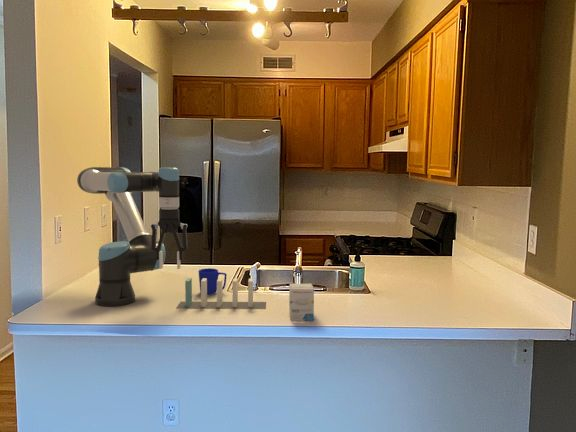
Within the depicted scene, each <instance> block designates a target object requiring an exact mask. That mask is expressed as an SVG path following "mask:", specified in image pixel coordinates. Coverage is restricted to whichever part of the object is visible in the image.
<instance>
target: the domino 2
mask: <svg viewBox="0 0 576 432" xmlns="http://www.w3.org/2000/svg"><path fill="white" fill-rule="evenodd" d="M222 288H223V278H220V277H218V280H217V291H216V302H217V307H221V306H222V302H223V290H222Z"/></svg>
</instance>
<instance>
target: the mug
mask: <svg viewBox="0 0 576 432" xmlns="http://www.w3.org/2000/svg"><path fill="white" fill-rule="evenodd" d="M220 275H222V276H224V278H223V284H222V291H223V290H224V289H225V288H226V284H227V277H228V276H227V273H226V272H219V269H216V268H210V267H209V268H201V269H199V270H198V280H199V283H198V284H199V290H200V293H201V280H202V279H203V278H207V295H213V294H217V280H218V278H219V276H220Z"/></svg>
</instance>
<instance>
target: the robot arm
mask: <svg viewBox="0 0 576 432" xmlns="http://www.w3.org/2000/svg"><path fill="white" fill-rule="evenodd" d="M179 173H180V172H179V169H178V168H177V167H159V169H158V172H157V171H148V172H147V171H143V172H141V171H139V172H138V171H137V172H135V171H133V172H131V170H130V169H128V168H127V167H122V166H121V167H120V166H114V167H111V166H110V167H109V166H108V167H105V166H103V167H101V166H95V167H94V166H91V167H87V168H85V169H83V170H81V171H80V172H79V174H78V175H77V179H76V182H77V185H78V187H79V188H80V189H81V191H83V192H85V193H87V194H93V195H94V194H98V195H100V194H102V195H103V194H104V195H105V197H106V199H107V200H108V201H110V202H112V205H113V207H114V210H115V212H116V215H117V217H118V219H119V222H120V224H121V226H122V228H123V231H124V234H125V236H126V239H127V241H125V240H124V241H123V240H121V241H112V242H108V243H105V244H103V245H101V247H99V249H98V257H97V258H98V277H99V281H98V282H99V284H98V287H97V291H96V294H95V297H94V303H95V305H97V306H101V307H120V306H126V305H130V304H132V303H134V302H135V301H136V294H135V291H134V288H133V285H132V282H131V274H136V273H144V272H150V271H151V272H152V271H155V270H156V271H157V270H162V269H163V268H164V263H165V260H166V247H165V245H164V240H165V237H166V234H167V233H170V234H172V235H173V237H174V240H175V242H176V246H177V249H178V251H177V252H176V260H177V261H176V264H177V265H176V269H177V270H180V269H181V261H182V260H184V251H187V250H189V249H188V248H189V245H188V243H189V242H188V233H187V231H188V230H187V228H188V224H187V223H182V222H181V221H180V209H179V208H180V174H179ZM143 192H144V193H146V192H152V193H153V192H158V207H159V210H158V222H156V223H152V224H151V225H150V228H151V230H152V232H151V233H149V231H148V230H147V227H146V225H145V223H144V221H143V217H141V216H142V215H141V214H140V212H139V209H138V207H137V205H136V201H135V200H134V198H133V195H132V194H133V193H143ZM158 228H160V229H161V232H160V236H159V239H158V237H157V236H158ZM179 228H180V229H181V231H182V233H181V235H182V241H181V238H180V235H179V232H178V229H179ZM157 239H158V240H157ZM182 243H183V245H182Z"/></svg>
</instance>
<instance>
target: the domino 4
mask: <svg viewBox="0 0 576 432" xmlns="http://www.w3.org/2000/svg"><path fill="white" fill-rule="evenodd" d="M247 284H248V285H247V286H248V287H247V291H248V292H247V293H248V294H247V296H248V297H247V298H248V299H247V302H248V307H252V306H253V302H254V278H248V280H247Z"/></svg>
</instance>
